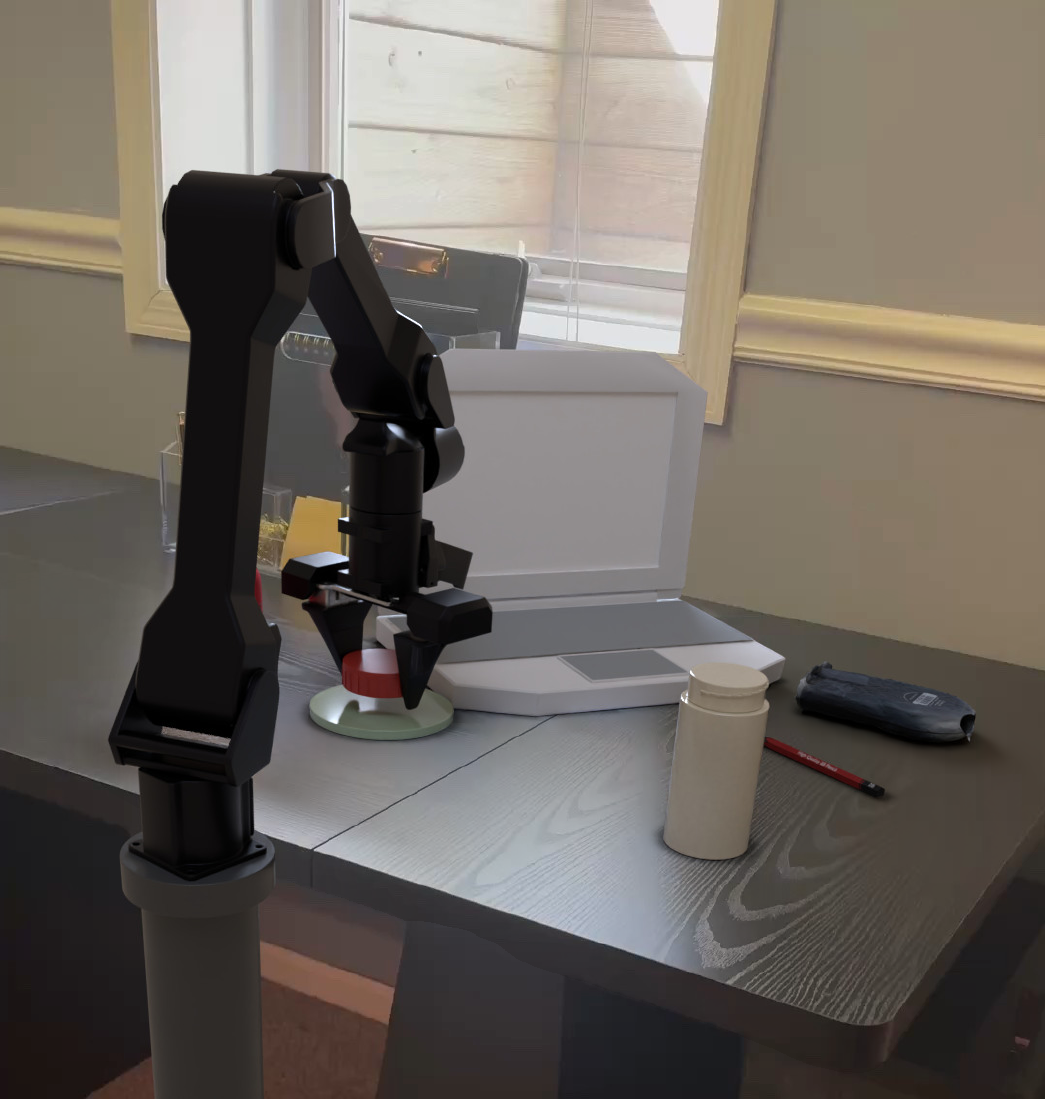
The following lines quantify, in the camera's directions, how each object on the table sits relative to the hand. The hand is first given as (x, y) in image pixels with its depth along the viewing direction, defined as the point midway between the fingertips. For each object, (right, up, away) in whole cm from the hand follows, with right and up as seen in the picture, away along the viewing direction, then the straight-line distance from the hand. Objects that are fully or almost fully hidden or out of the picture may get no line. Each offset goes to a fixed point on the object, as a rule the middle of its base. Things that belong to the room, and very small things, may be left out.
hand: (382, 698), depth 118 cm
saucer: (0, -1, +1) cm, 2 cm away
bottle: (+25, -13, -18) cm, 33 cm away
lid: (0, +2, -1) cm, 3 cm away
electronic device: (+44, -1, +8) cm, 45 cm away
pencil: (+35, -6, -3) cm, 36 cm away
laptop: (+17, +5, +16) cm, 24 cm away
